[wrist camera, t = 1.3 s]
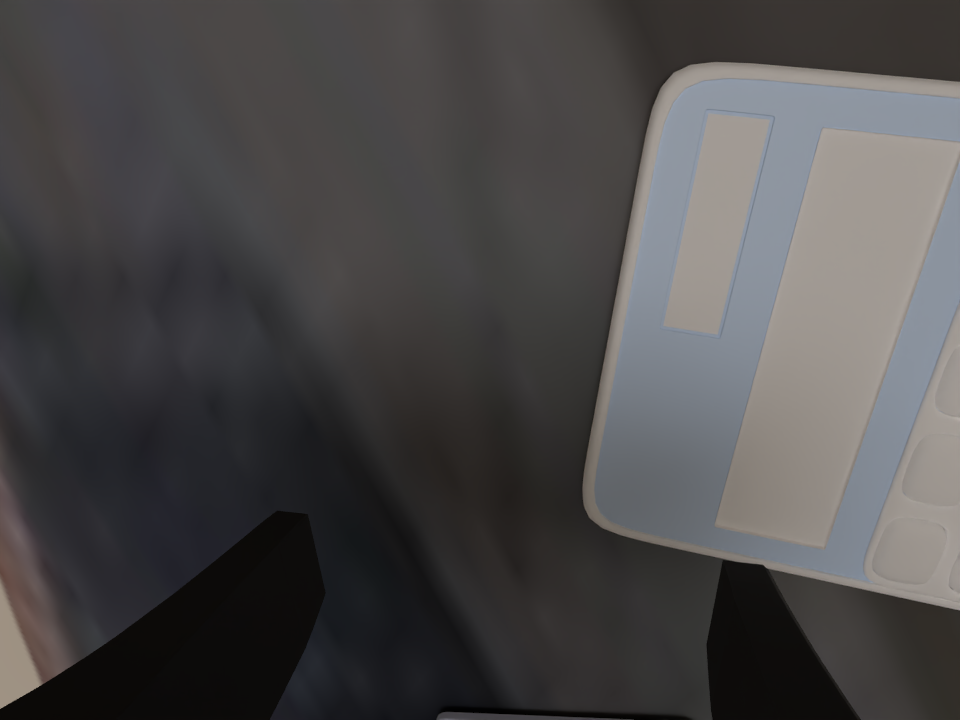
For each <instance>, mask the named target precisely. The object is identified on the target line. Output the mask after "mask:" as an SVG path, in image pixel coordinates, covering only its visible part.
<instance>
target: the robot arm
mask: <svg viewBox="0 0 960 720" xmlns="http://www.w3.org/2000/svg"><path fill="white" fill-rule="evenodd" d="M324 596H325V589H324V584H323V580H322V576H321V571H320V567H319V562H318V558H317V553H316V549H315V545H314V540H313V536H312V531H311V527H310V522H309V518H308V514H302V513H293V512H283V511H276V512H275V513H274V514H272V515H271V516H270V517H268V518H267V519H266V520H265V521H263V522H262V523H261V524H260V525H258V526H257V527H256V528H255V529H253V530H252V531H251V532H250V533H249V534H247V535H246V536H245V537H244V538H243V539H241V540H240V541H239V542H238V543H236V544H235V545H234V546H233V547H232V548H230V549H229V550H228V551H227V552H225V553H224V554H223V555H222V556H221V557H219V558H218V559H217V560H216V561H214V562H213V563H212V564H211V565H209V566H208V567H207V568H206V569H204V570H203V571H202V572H201V573H199V574H198V575H197V576H196V577H194V578H193V579H192V580H191V581H189V582H188V583H187V584H186V585H184V586H183V587H182V588H181V589H179V590H178V591H177V592H176V593H174V594H173V595H172V596H170V597H169V598H168V599H166V600H165V601H163V602H162V603H161V604H159V605H158V606H157V607H155V608H154V609H153V610H151V611H150V612H149V613H147V614H146V615H145V616H143V617H142V618H140V619H139V620H138V621H136V622H135V623H134V624H132V625H131V626H130V627H128V628H127V629H126V630H124V631H123V632H122V633H120V634H119V635H117V636H116V637H115V638H113V639H112V640H110V641H109V642H107V643H106V644H104V645H103V646H102V647H100V648H99V649H97V650H96V651H94V652H93V653H91V654H90V655H88V656H87V657H85V658H84V659H82V660H80V661H79V662H77V663H76V664H74V665H73V666H71V667H70V668H68V669H66V670H65V671H63V672H62V673H60V674H59V675H57V676H55V677H54V678H52V679H51V680H49V681H47V682H46V683H44V684H43V685H41V686H39V687H38V688H36V689H34V690H33V691H31V692H29V693H27V694H26V695H24V696H22V697H20V698H19V699H17V700H15V701H13V702H12V703H10V704H8V705H6V706H5V707H3V708H1V709H0V720H270V718H271V716H272V714H273V712H274V710H275V708H276V706H277V704H278V702H279V700H280V698H281V696H282V694H283V692H284V690H285V688H286V686H287V684H288V682H289V680H290V678H291V676H292V674H293V672H294V670H295V668H296V666H297V664H298V662H299V660H300V658H301V656H302V654H303V652H304V650H305V648H306V645H307V643H308V640H309V638H310V635H311V632H312V630H313V627H314V624H315V622H316V619H317V616H318V613H319V610H320V607H321V604H322V602H323V599H324ZM707 659H708V675H709V689H710V702H711V712H712V718H713V720H861V719H860V718H859V716H858V715H857V714H856V712H855V711H854V709H853V708H852V706H851V705H850V703H849V702H848V700H847V699H846V697H845V696H844V694H843V693H842V691H841V690H840V688H839V687H838V685H837V684H836V682H835V681H834V679H833V678H832V676H831V675H830V673H829V672H828V670H827V669H826V667H825V666H824V664H823V663H822V661H821V659H820V658H819V656H818V655H817V653H816V651H815V650H814V648H813V647H812V645H811V643H810V642H809V640H808V638H807V637H806V635H805V633H804V632H803V630H802V628H801V627H800V625H799V624H798V622H797V620H796V618H795V617H794V615H793V613H792V612H791V610H790V608H789V606H788V605H787V603H786V601H785V599H784V598H783V596H782V594H781V592H780V590H779V589H778V587H777V585H776V583H775V581H774V579H773V577H772V576H771V574H770V572H769V570H768V569H767V568H766V567H765V566H764V565H761V564H752V563H743V562H734V561H725V560H723V562H722V568H721V573H720V578H719V583H718V588H717V594H716V599H715V604H714V609H713V614H712V619H711V625H710V630H709V635H708V640H707ZM436 720H632V719H608V718H583V717H559V716H535V715H510V714H486V713H461V712H443V713H441V714H439V715H438V717H437V719H436Z"/></svg>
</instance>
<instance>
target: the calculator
mask: <svg viewBox="0 0 960 720" xmlns="http://www.w3.org/2000/svg"><path fill="white" fill-rule="evenodd" d="M582 493H583V504H584V508H585V510H586V512H587V514H588V516H589V518H590V519H591V520H592V521H594V522H595V523H596V524H598V525H599V526H600V527H601V528H603V529H606V530H608V531H611V532H613V533H616V534H618V535H622V536H625V537H629V538H633V539H637V540H641V541H645V542H649V543H653V544H658V545H662V546H667V547H671V548H676V549H680V550H685V551H689V552H694V553H699V554H703V555H708V556H712V557H717V558H722V559H726V560H731V561H735V562H743V563H752V564H761V565H764V566H765V567H766V568H768V569H772V570H777V571H781V572H786V573H791V574H795V575H800V576H804V577H809V578H814V579H818V580H823V581H827V582H832V583H837V584H841V585H846V586H850V587H855V588H859V589H864V590H869V591H873V592H878V593H882V594H887V595H892V596H896V597H901V598H905V599H910V600H915V601H919V602H924V603H928V604H933V605H938V606H942V607H947V608H951V609H956V610H960V82H954V81H943V80H932V79H921V78H910V77H899V76H888V75H877V74H866V73H855V72H844V71H833V70H822V69H811V68H800V67H788V66H776V65H764V64H753V63H728V62H712V63H703V64H694V65H689V66H687V67H685V68H683V69H681V70H679V71H676V72H674V73H673V74H672V75H671V76H670V78H669V79H668V80H667V81H666V82H665V83H664V85H663V86H662V87H661V89H660V91H659V93H658V96H657V98H656V101H655V103H654V105H653V108H652V111H651V115H650V119H649V123H648V127H647V131H646V136H645V141H644V146H643V151H642V157H641V162H640V167H639V173H638V178H637V183H636V189H635V194H634V200H633V205H632V211H631V216H630V221H629V227H628V232H627V238H626V243H625V249H624V254H623V260H622V265H621V270H620V276H619V281H618V287H617V292H616V298H615V303H614V309H613V314H612V319H611V325H610V330H609V336H608V341H607V347H606V352H605V358H604V363H603V368H602V374H601V379H600V385H599V390H598V396H597V401H596V407H595V412H594V417H593V423H592V428H591V434H590V439H589V445H588V450H587V456H586V462H585V468H584V476H583V486H582ZM950 587H951V588H952V589H953V590H952V589H951V588H950Z"/></svg>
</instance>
